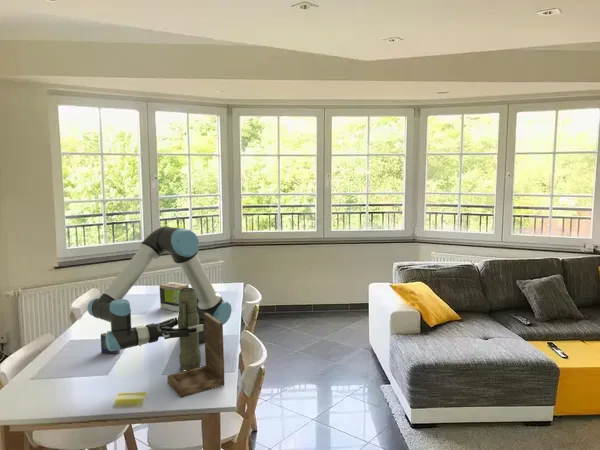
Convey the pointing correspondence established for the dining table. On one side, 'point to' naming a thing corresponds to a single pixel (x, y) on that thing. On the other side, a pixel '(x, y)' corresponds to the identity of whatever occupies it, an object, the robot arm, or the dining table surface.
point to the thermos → (186, 319)
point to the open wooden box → (214, 368)
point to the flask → (104, 346)
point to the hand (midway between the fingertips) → (197, 323)
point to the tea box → (171, 295)
